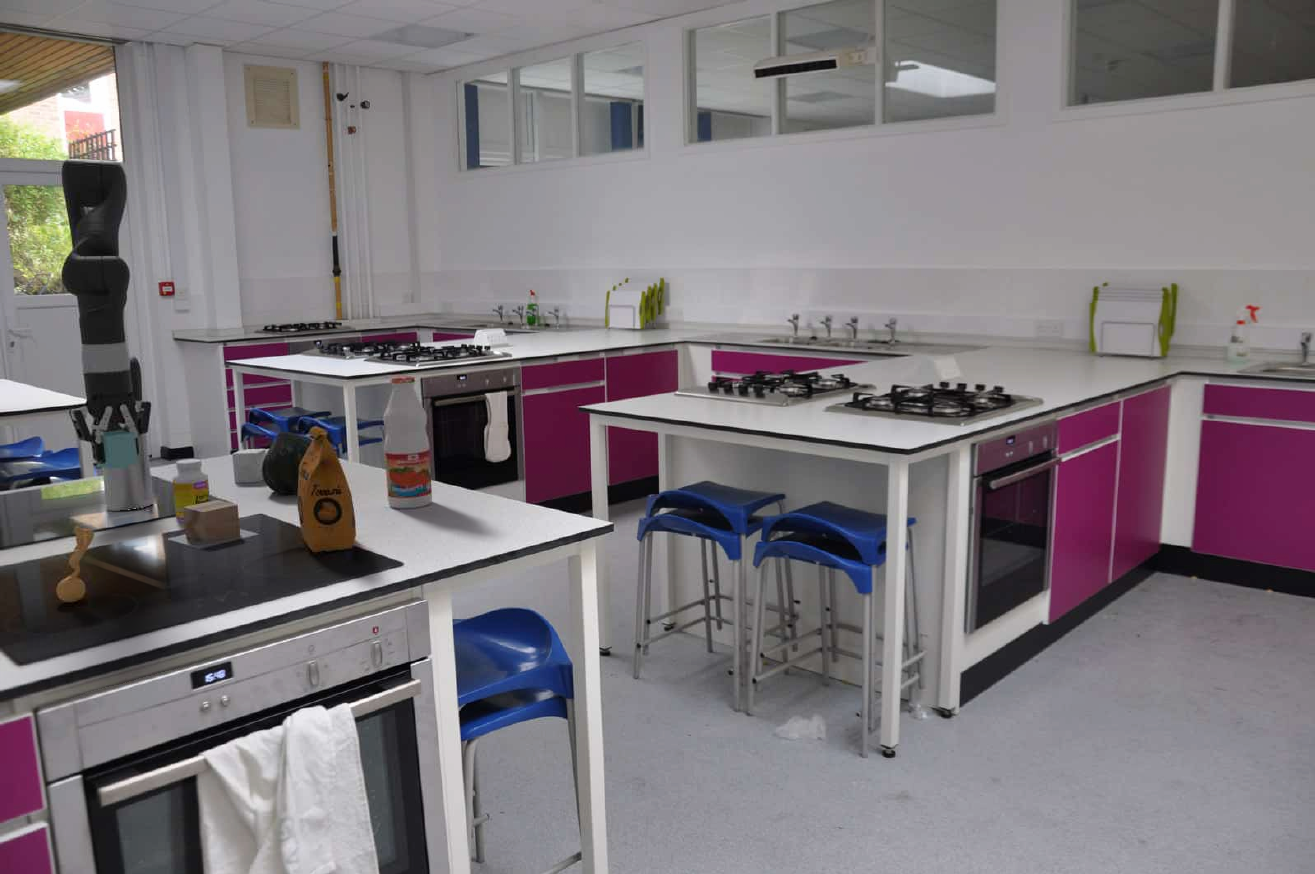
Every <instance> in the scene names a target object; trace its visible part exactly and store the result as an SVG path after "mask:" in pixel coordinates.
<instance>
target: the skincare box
mask: <svg viewBox="0 0 1315 874" xmlns="http://www.w3.org/2000/svg"><path fill="white" fill-rule="evenodd" d="M266 451H267V450H266V448H251V449H250V448H245V449H244V448H242V449H241V450H237V451H236V452H234V453H231V454H232V455H231V456H232V465H233V468H232V469H233V477H234V478H233V479H234V480H233V481H234V483H236V484H237V483H240V484H241V483H242V484H243V483H260V482H261V481H264V479H263V476H262V464H263V461H264V458H265V456H266V454H267V452H266Z"/></svg>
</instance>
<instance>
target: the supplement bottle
mask: <svg viewBox="0 0 1315 874" xmlns="http://www.w3.org/2000/svg"><path fill="white" fill-rule="evenodd" d="M175 464H176V469H177V473H176V474H174V475H173V477H172V486H173V487H172V489H173V499H174V508H175V509H174V512H175V519H176V521H178V522H184V512H183V507H187V506H191V505H196V504H201V503H206V502H211V498H210V486H209V476H208V474H207V473H206V472H205V471H203V470H202V468H201V467H202V459H199V458H187V459H180V460H177V461H176V462H175Z"/></svg>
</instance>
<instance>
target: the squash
mask: <svg viewBox="0 0 1315 874" xmlns="http://www.w3.org/2000/svg"><path fill="white" fill-rule="evenodd" d="M312 441H313V439H311V438H309V437H307V436H303V435H300V434H298V433H294V432H290V431H279V433H278V434H277V435H276V436H275V438H274V440H273V442H272V443H271V445H270V447H269V449H268V451H267V452H266V456H265V458H264V461H263V464H262V476H263V479H264V480H263V481H264V483H265V485H266V486H267V487H268V488H269V489H271V491H273V492H276V493H280V494H283V495H287V496H288V495H293V494H297V495H298V477H299V465H300V463H301V461H302V459H303V457H304V455H305V453H306V451H307V450H308V448H309V446H310V445H311V443H312Z"/></svg>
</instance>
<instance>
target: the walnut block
mask: <svg viewBox="0 0 1315 874" xmlns="http://www.w3.org/2000/svg"><path fill="white" fill-rule="evenodd" d="M238 505H239V504H235V503H232V502H228V501H224V500H218V499H216V500H212V501H211V500H210V502H206V503H201V504H196V505H191V506H187V507H183V512H184V521H183V522H184V529H185V534H186V538H189V539H192V540H196V541H199V542H203V543H209V542H213V541H218V540H222V539H226V538H230V537H234V536H238V535H240V529H241V528H240V527H241V526H240V518H239V506H238Z"/></svg>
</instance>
